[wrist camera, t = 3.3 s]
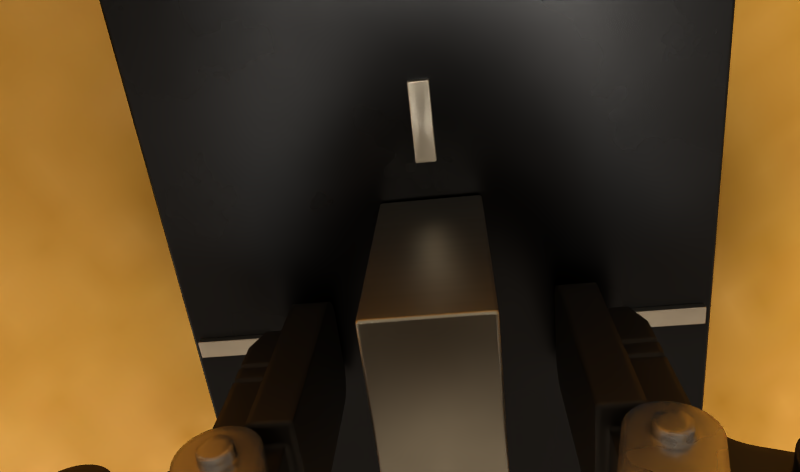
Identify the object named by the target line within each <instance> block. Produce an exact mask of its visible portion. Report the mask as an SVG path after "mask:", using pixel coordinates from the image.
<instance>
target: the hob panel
mask: <svg viewBox="0 0 800 472" xmlns="http://www.w3.org/2000/svg"><path fill="white" fill-rule="evenodd" d="M99 1H100V4H101V8H102V12H103V15H104V19H105V22H106V26H107V29H108V33H109V36H110V40H111V44H112V47H113V51H114V54H115V58H116V61H117V65H118V69H119V72H120V76H121V79H122V83H123V86H124V90H125V93H126V97H127V101H128V104H129V108H130V111H131V115H132V118H133V122H134V126H135V129H136V133H137V136H138V140H139V143H140V147H141V150H142V154H143V158H144V161H145V165H146V168H147V172H148V175H149V179H150V183H151V186H152V190H153V193H154V197H155V200H156V204H157V207H158V211H159V215H160V218H161V222H162V225H163V229H164V232H165V236H166V240H167V243H168V247H169V250H170V254H171V257H172V261H173V265H174V268H175V272H176V275H177V279H178V282H179V286H180V289H181V293H182V297H183V300H184V304H185V307H186V311H187V314H188V318H189V322H190V325H191V329H192V332H193V336H194V339H195V343H196V346H197V350H198V354H199V357H200V361H201V364H202V368H203V371H204V375H205V379H206V382H207V386H208V389H209V393H210V396H211V400H212V403H213V407H214V411H215V414H216V418H218V416H219V414H220V411H221V409H222V407H223V405H224V402H225V400H226V398H227V396H228V393H229V391H230V389H231V387H232V385H233V383H235V378H236V376H237V373H238V371H239V369H241V365H242V362H243V360H244V358H245V356H246V353H247V351H248V349H249V347H250V346H251V345H253V344H254V343H255V342H256V341H257V340H258V339H259V338H260V337H261V336H262V335H263V334H265V333H266V332H269V331H282V328H283V325H284V323H285V320H286V318H287V315H288V313H289V310H290V308H291V306H292V305H293V304H305V303H319V302H331V303H332V305H333V308H334V312H335V318H336V323H337V329H338V334H339V340H340V345H341V351H342V357H343V362H344V368H345V376H346V399H345V405H344V410H343V415H342V421H341V426H340V431H339V436H338V441H337V446H336V451H335V456H334V461H333V466H332V471H331V472H380V469H379V463H378V457H377V451H376V445H375V439H374V433H373V427H372V421H371V415H370V409H369V403H368V397H367V391H366V385H365V379H364V373H363V367H362V361H361V355H360V349H359V343H358V337H357V331H356V324H355V322H356V317H357V312H358V308H359V303H360V298H361V293H362V289H363V284H364V279H365V275H366V270H367V265H368V260H369V256H370V251H371V246H372V242H373V237H374V232H375V227H376V223H377V218H378V213H379V209H380V205H381V204H383V203H394V202H406V201H417V200H428V199H440V198H451V197H462V196H474V195H480V196H481V197H482V203H483V209H484V216H485V223H486V229H487V236H488V243H489V250H490V256H491V263H492V270H493V276H494V283H495V290H496V296H497V303H498V310H499V321H500V336H501V352H502V367H503V382H504V397H505V413H506V428H507V443H508V458H509V472H581V469H580V465H579V461H578V457H577V453H576V449H575V445H574V441H573V437H572V433H571V429H570V426H569V422H568V418H567V414H566V410H565V406H564V402H563V398H562V394H561V390H560V386H559V380H558V373H557V363H556V335H555V296H554V295H555V286H556V285H566V284H579V283H592V282H595V283H597V285H598V287H599V290H600V292H601V294H602V297H603V299H604V301H605V304H606V306H607V308H614V307H630V308H631V309H632V310H634V311H635V312H636V313H638V314H639V315H641V316H642V317H643V318H645V319H646V320H647V321H648V322H649V324H650V326H651V328H652V330H653V332H654V334H655V336H656V338H657V342H659V343H660V345H661V347H662V349H663V351H664V355H665V356H666V357H667V359H668V361H669V363H670V365H671V366H672V368H673V370H674V372H675V374H676V376H677V378H678V380H679V382H680V384H681V386H682V388H683V390H684V391H685V393H686V395H687V397H688V399H689V401H690V403H691V405H692V406H694V407H696V408H699V409H701V410H702V407H703V395H704V382H705V370H706V357H707V345H708V332H709V320H710V307H711V295H712V282H713V270H714V257H715V245H716V232H717V220H718V207H719V195H720V182H721V170H722V157H723V145H724V132H725V120H726V108H727V95H728V83H729V70H730V58H731V45H732V33H733V20H734V8H735V0H99Z"/></svg>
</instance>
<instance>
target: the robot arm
mask: <svg viewBox="0 0 800 472" xmlns="http://www.w3.org/2000/svg"><path fill="white" fill-rule="evenodd" d="M554 296H555V335H556V363H557V373H558V380H559V386H560V390H561V394H562V398H563V402H564V406H565V410H566V414H567V418H568V422H569V426H570V429H571V433H572V437H573V441H574V445H575V449H576V453H577V457H578V461H579V465H580V469H581V472H800V439H799V440H798V442H797V444H796V448H795V452H789V451H783V450H777V449H771V448H765V447H759V446H754V445H749V444H745V443H742V442H738V441H735V440H733V439H730V438H728V437H726V433H725V431H724V429H723V427H722V426H721V425H720V423H719V422H718V421H717V420H716V419H715V418H713V417H712V416H711V415H709V414H708V413H706V412H705V411H703V410H701V409H699V408H696V407H694V406H692V405H691V403H690V401H689V399H688V397H687V395H686V393H685V391H684V390H683V388H682V386H681V384H680V382H679V380H678V378H677V376H676V374H675V372H674V370H673V368H672V366H671V365H670V363H669V361H668V359H667V357H666V356H665V355H664V351H663V349H662V347H661V345H660V343H659V342H657V338H656V336H655V334H654V332H653V330H652V328H651V326H650V324H649V322H648V321H647V320H646V319H645V318H643V317H642V316H641V315H639V314H638V313H636V312H635V311H634V310H632V309H631V308H630V307H614V308H607V306H606V304H605V301H604V299H603V297H602V294H601V292H600V290H599V287H598V285H597V283H595V282H592V283H579V284H566V285H556V286H555V295H554ZM345 399H346V376H345V368H344V362H343V357H342V351H341V345H340V340H339V334H338V329H337V323H336V318H335V312H334V308H333V305H332V303H331V302H319V303H305V304H293V305H292V306H291V308H290V310H289V313H288V315H287V318H286V320H285V323H284V325H283V328H282V331H269V332H266V333H265V334H263V335H262V336H261V337H260V338H259V339H258V340H257V341H256V342H255V343H254V344H253V345H251V346H250V347H249V349H248V351H247V353H246V356H245V358H244V360H243V362H242V365H241V369H239V371H238V373H237V376H236V378H235V383H233V385H232V387H231V389H230V391H229V393H228V396H227V398H226V400H225V402H224V405H223V407H222V409H221V411H220V414H219V416H218V418H217V420H216V422H215V425H214V427H213V429H211V430H208V431H206V432H203V433H201V434H199V435H197V436H195V437H194V438H192V439H191V440H189V441H188V442H187V443H186V444H184V445H183V446H182V447H181V448H180V449H179V450H178V452H177V453H176V454H175V456H174V458H173V460H172V462H171V465H170V471H168V472H331V471H332V466H333V461H334V456H335V451H336V446H337V441H338V436H339V431H340V426H341V421H342V415H343V410H344V405H345ZM59 472H110V471H109V470H108V469H106V468H104V467H102V466H99V465H79V466H74V467H70V468H67V469H64V470H61V471H59Z"/></svg>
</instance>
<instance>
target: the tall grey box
mask: <svg viewBox="0 0 800 472" xmlns="http://www.w3.org/2000/svg"><path fill="white" fill-rule="evenodd" d="M355 324H356V331H357V337H358V343H359V349H360V355H361V361H362V367H363V373H364V379H365V385H366V391H367V397H368V403H369V409H370V415H371V421H372V427H373V433H374V439H375V445H376V451H377V457H378V463H379V469H380V472H509V458H508V443H507V428H506V413H505V397H504V382H503V367H502V352H501V336H500V321H499V310H498V303H497V296H496V290H495V283H494V276H493V270H492V263H491V256H490V250H489V243H488V236H487V229H486V223H485V216H484V209H483V203H482V197H481V196H480V195H474V196H462V197H451V198H440V199H428V200H417V201H406V202H394V203H383V204H381V205H380V209H379V213H378V218H377V223H376V227H375V232H374V237H373V242H372V246H371V251H370V256H369V260H368V265H367V270H366V275H365V279H364V284H363V289H362V293H361V298H360V303H359V308H358V312H357V317H356V322H355Z"/></svg>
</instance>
